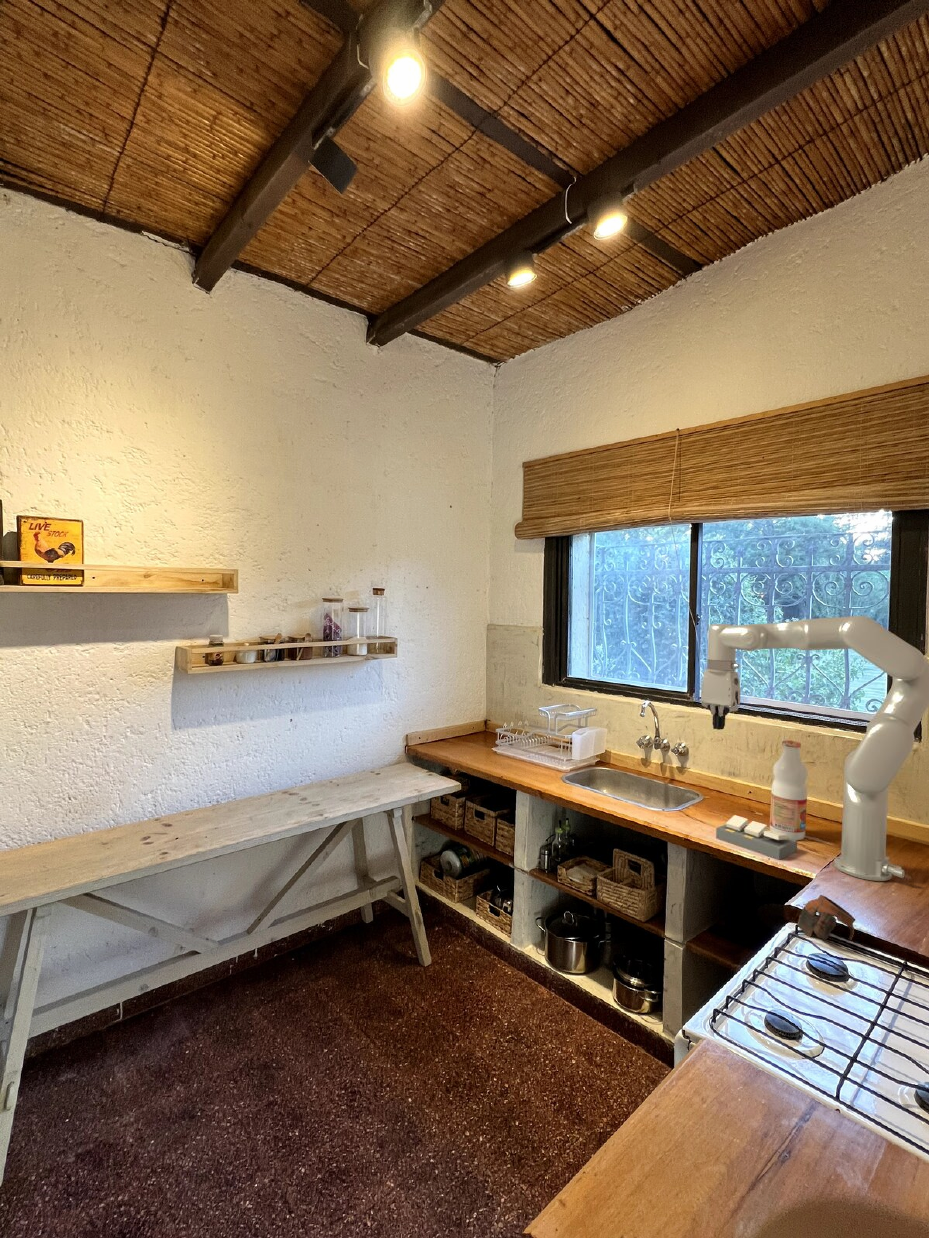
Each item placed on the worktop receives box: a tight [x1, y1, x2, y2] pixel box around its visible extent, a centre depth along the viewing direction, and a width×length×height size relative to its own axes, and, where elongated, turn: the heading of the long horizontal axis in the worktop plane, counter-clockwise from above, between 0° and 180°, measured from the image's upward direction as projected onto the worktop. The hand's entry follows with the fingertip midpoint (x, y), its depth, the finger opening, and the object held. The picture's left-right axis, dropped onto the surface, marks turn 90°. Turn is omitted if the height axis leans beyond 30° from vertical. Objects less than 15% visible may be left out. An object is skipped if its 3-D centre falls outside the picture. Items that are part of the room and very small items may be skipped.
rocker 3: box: [764, 829, 787, 840], centre depth 165 cm, size 4×5×2 cm
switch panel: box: [715, 824, 798, 861], centre depth 170 cm, size 18×10×3 cm, turn 37°
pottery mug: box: [797, 894, 856, 941], centre depth 122 cm, size 12×10×8 cm
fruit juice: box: [769, 739, 809, 841], centre depth 178 cm, size 9×9×28 cm
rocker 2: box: [744, 820, 768, 837], centre depth 170 cm, size 4×5×2 cm
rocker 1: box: [725, 814, 749, 831], centre depth 174 cm, size 4×5×2 cm
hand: (718, 728), depth 174 cm, fingers closed
